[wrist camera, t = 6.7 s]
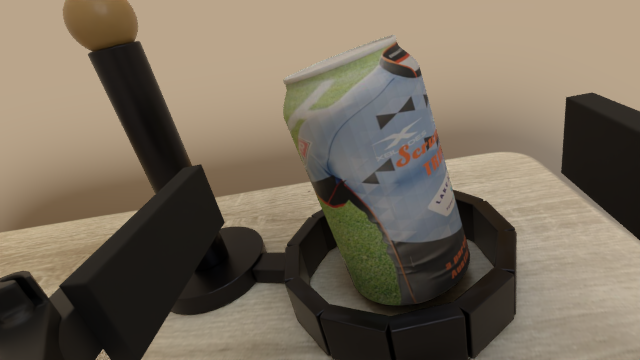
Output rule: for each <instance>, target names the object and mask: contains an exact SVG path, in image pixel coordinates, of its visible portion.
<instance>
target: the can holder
mask: <svg viewBox="0 0 640 360" xmlns="http://www.w3.org/2000/svg"><path fill="white" fill-rule="evenodd" d="M63 18H64V22H65V24H66V27H67V29H68V31H69V33H70V34H71V35H72V36H73V38H74V39H75V40H76V41H77V42H78V43H80V44H81V45H82V46H84V47H85V48H87V49H89V50H91V51H93V52H90V53H89V54H88V56H89V58H90V60H91V62H92V64H93V66H94V68H95V70H96V72H97V74H98V77H99V79H100V81H101V83H102V85H103V87H104V89H105V91H106V93H107V95H108V97H109V99H110V101H111V103H112V105H113V107H114V110H115V112H116V114H117V116H118V118H119V120H120V122H121V124H122V126H123V128H124V130H125V132H126V134H127V136H128V138H129V140H130V142H131V145H132V147H133V149H134V151H135V153H136V155H137V157H138V159H139V161H140V163H141V165H142V167H143V169H144V171H145V173H146V175H147V177H148V180H149V182H150V184H151V186H152V188H153V190H154V192H155V194H157V193H158V192H159V191H160V190H161V189H162V188H163V187H164V186H165V185H166V184H167V183H168V182H169V181H170V180H171V179H172V178H173V177H174V176H176V175H177V174H178V173H179V172H180V171H181V170H182V169H183V168H185V167H190V166H192V165H191V162H190V160H189V157H188V155H187V152H186V150H185V148H184V145H183V143H182V141H181V138H180V136H179V133H178V131H177V129H176V126H175V124H174V122H173V119H172V117H171V114H170V112H169V110H168V107H167V105H166V103H165V100H164V98H163V95H162V93H161V91H160V89H159V86H158V83H157V81H156V79H155V76H154V74H153V72H152V69H151V67H150V64H149V62H148V60H147V57H146V55H145V52H144V50H143V48H142V45H141V43H140V42H139V41H136V42H134V40H135V38H136V36H137V32H138V22H137V17H136V15H135V12H134V10H133V8H132V7H131V5H130V4H129V2H128V1H127V0H66V1H65V3H64V7H63ZM453 193H454V197H455V201H456V204H457V208H458V212H459V215H460V219H461V223H462V227H463V230H464V234H465V238H468V239H470V240H472V241H474V242H475V243H476V244H477V245H478V246H479V248H480V249H481V250H482V251H483V253H484V254H485V255H486V256H487V258H488V259H489V260H490V261H491V263H492V264H493V265H494V268H493V269H492V270H491V271H490V272H488V273H487V274H486V275H485V276H484V277H483V278H481V279H480V280H479V281H478V282H477V283H475V284H474V285H473V286H472V287H471V288H470V289H468V290H467V291H466V292H465V293H464V294H462V295H461V296H460V297H459V298H458V299H457V300H455V301H454V302H452V303H447V304H443V305H438V306H434V307H429V308H425V309H420V310H415V311H411V312H406V313H402V314H397V315H393V316H386V315H381V314H376V313H371V312H366V311H361V310H356V309H351V308H346V307H341V306H336V305H331V304H329V303H327V302H326V301H325V300H324V299H323V298H322V297H321V296H320V295H319V294H318V293H317V292H316V291H315V290H314V289H312V288H311V287H310V277H311V276H312V274H313V273H314V271H315V270H316V268H317V267H318V265H319V264H320V262H321V261H322V259H323V258H324V256H325V255H326V253H327V252H328V251H329V250H331V249H332V248H334V247H335V246H337V243H336V241H335V238H334V236H333V233H332V231H331V229H330V226H329V224H328V221H327V219H326V217H325V214H324V212H323V210H320V211H318V212H316V213H315V214H313V215H312V217H309V218H308V219H307V220H306V222H305V223H304V224H303V225H302V227H301V228H300V229H299V230H298V231H297V233H296V234H295V235H294V236H293V238H292V239H291V240H290V241H289V242H288V244H287V247H286V248H285V253H267V251H266V248H265V245H264V243H263V240H262V238H261V236H260V235H259V233H258V232H256V231H255V230H253V229H250V228H246V227H227V228H222V229H220V231H219V232H218V234H217V236H216V237H215V239H214V241H213V242H212V244H211V246H210V247H209V249H208V250H207V252H206V254H205V255H204V257H203V259H202V260H201V262H200V264H199V265H198V267H197V268H196V270H195V272H194V273H193V275H192V277H191V278H190V280H189V282H188V283H187V285H186V286H185V288H184V290H183V291H182V293H181V295H180V296H179V298H178V300H177V301H176V303H175V304H174V306H173V308H172V309H171V311H172V312H175V313H178V314H187V315H190V314H199V313H204V312H208V311H212V310H214V309H217V308H220V307H222V306H224V305H226V304H228V303H230V302H232V301H234V300H235V299H237V298H238V297H240V296H241V295H243V294H244V293H245V292H247V291H248V290H249V289H250V288H251V287H252V286H253V285H254V284H255V283H256V282H272V283H285V285H286V288H287V291H288V294H289V297H290V300H291V302H292V305H293V308H294V311H295V314H296V317H297V319H298V321H299V323H300V324H301V325H302V326H303V327H304V328H305V329H306V331H307V332H308V333H309V334H310V335H311V336H312V337H313V339H314V340H315V341H316V342H317V343H318V344H319V345H320V347H321V348H322V349H323V350H324V351H325V352H326V353H327V355H332V358H333V359H337V360H468V355H469V356H470V357H471V358H474V357H475V356H476V355H477V354H478V353H479V352H480V351H481V350H483V349H484V348H485V347H486V346H487V345H488V344H489V343H490V342H491V341H492V340H493V339H494V338H495V337H496V336H497V335H498V334H499V333H500V332H501V331H502V330H503V329H504V328H505V327H506V326H507V325H508V324H509V323H510V322H511V321H512V320H513V319H514V315H515V314H516V244H517V233H516V231H515V228H514V227H513V226H512V225H511V224H510V223H509V222H508V221H507V220H506V219H505V218H504V217H503V216H502V215H501V214H499V213H498V212H497V211H496V210H495V209H494V208H493V207H492V206H491V205H490V204H489V203H488V202H487V201H483V199H481V198H478V197H475V196H472V195H468V194H465V193H462V192H459V191H456V190H453Z"/></svg>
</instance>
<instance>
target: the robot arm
mask: <svg viewBox="0 0 640 360" xmlns="http://www.w3.org/2000/svg"><path fill="white" fill-rule="evenodd" d="M565 110H566V111H565V124H564V140H563V155H562V170H561V173H562V174H564V175H565V176H566V177H567V178H568V179H569V180H571V181H572V182H573V183H574V184H575V185H576V186H577V187H579V188H580V189H581V190H582V191H583V192H584V193H586V194H587V195H588V196H589V197H590V198H591V199H593V200H594V201H595V202H596V203H597V204H598V205H600V206H601V207H602V208H603V209H604V210H605V211H606V212H608V213H609V214H610V215H611V216H612V217H613V218H615V219H616V220H617V221H618V222H619V223H620V224H622V225H623V226H624V227H625V228H626V229H627V230H628V231H630V232H631V233H632V234H633V235H634V236H635V237H637V238H638V239H639V240H640V111H637V110H635V109H632V108H630V107H627V106H625V105H622V104H620V103H617V102H615V101H612V100H610V99H607V98H605V97H602V96H600V95H597V94H595V93H588V94H582V95H577V96H571V97H567V98H566V109H565ZM224 223H225V222H224V219H223V217H222V215H221V212H220V210H219V207H218V205H217V202H216V200H215V197H214V195H213V193H212V190H211V188H210V185H209V183H208V180H207V178H206V175H205V173H204V170H203V168H202V166H201V165H197V166H190V167H185V168H183V169H182V170H181V171H180V172H179V173H178V174H177V175H176V176H174V177H173V178H172V179H171V180H170V181H169V182H168V183H167V184H166V185H165V186H164V187H163V188H162V189H161V190H160V191H159V192H158V193H157V194H156V195H154V196H153V197H152V198H151V199H150V200H149V201H148V202H147V203H146V204H145V205H144V206H143V207H142V208H141V209H140V210H139V211H138V212H137V213H136V214H134V215H133V216H132V217H131V218H130V219H129V220H128V221H127V222H126V223H125V224H124V225H123V226H122V227H121V228H120V229H119V230H118V231H117V232H116V233H115V234H113V235H112V236H111V237H110V238H109V239H108V240H107V241H106V242H105V243H104V244H103V245H102V246H101V247H100V248H99V249H98V250H97V251H96V252H95V253H93V254H92V255H91V256H90V257H89V258H88V259H87V260H86V261H85V262H84V263H83V264H82V265H81V266H80V267H79V268H78V269H77V270H76V271H75V272H73V273H72V274H71V275H70V276H69V277H68V278H67V279H66V280H65V281H64V282H63V283H62V284H61V285H60V286H59V287H60V288H59V289H58V290H57V291H55V292H54V293H53V294H52V295H51V296H50V297H49V298H48V297H47V295H46V294H45V293H44V291H43V290H42V289H41V287H40V286H39V284H38V283H37V282H36V280H35V279H34V278H33V276H32V275H31V274H30V272H27V271H20V272H16V273H12V274H10V275H7V276H4V277H2V278H0V360H95V359H96V358H97V356H98V355H99V354H100V352H101V351H102V350H103V349H104V351H105V352H106V354H107V355H108V356H109V358H110V359H111V360H141V359H142V357H143V355H144V354H145V352H146V350H147V349H148V347H149V345H150V344H151V342H152V341H153V339H154V337H155V336H156V334H157V332H158V331H159V329H160V327H161V326H162V324H163V323H164V321H165V319H166V318H167V316H168V314H169V313H170V311H171V309H172V308H173V306H174V304H175V303H176V301H177V300H178V298H179V296H180V295H181V293H182V291H183V290H184V288H185V286H186V285H187V283H188V282H189V280H190V278H191V277H192V275H193V273H194V272H195V270H196V268H197V267H198V265H199V264H200V262H201V260H202V259H203V257H204V255H205V254H206V252H207V250H208V249H209V247H210V246H211V244H212V242H213V241H214V239H215V237H216V236H217V234H218V232H219V231H220V229H221V228H222V226H223V224H224Z"/></svg>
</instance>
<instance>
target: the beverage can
mask: <svg viewBox="0 0 640 360" xmlns="http://www.w3.org/2000/svg"><path fill="white" fill-rule="evenodd" d="M283 81H284V84H286V88H287V92H286V97H285V102H284V119H285V121H286V123H287V126H288V128H289V131H290V133H291V136H292V138H293V140H294V143H295V145H296V148H297V150H298V152H299V155H300V157H301V159H302V162H303V164H304V166H305V169H306V171H307V174H308V176H309V179H310V181H311V183H312V186H313V188H314V190H315V193H316V195H317V198H318V200H319V202H320V205H321V207H322V210H323V212H324V214H325V217H326V219H327V221H328V224H329V226H330V229H331V231H332V233H333V236H334V238H335V241H336V243H337V245H338V248H339V250H340V252H341V255H342V257H343V260H344V262H345V264H346V267H347V269H348V271H349V274H350V276H351V279H352V281H353V283H354V286H355V287H356V289H357V290H358V291H359V292H360V293H361V294H362V295H363V296H364V297H366V298H368V299H370V300H371V301H374V302H377V303H380V304H386V305H411V304H418V303H422V302H425V301H428V300H431V299H433V298H435V297H437V296H439V295H441V294H443V293H444V292H446V291H448V290H449V289H450V288H452V287H453V286H454V285H455V284H456V283H457V282H458V281H459V280H460V279H461V278H462V277H463V275H464V274H465V272H466V270H467V268H468V265H469V261H470V253H469V249H468V245H467V241H466V238H465V234H464V230H463V227H462V223H461V219H460V215H459V212H458V208H457V204H456V201H455V197H454V193H453V189H452V186H451V182H450V178H449V175H448V171H447V167H446V164H445V160H444V156H443V152H442V149H441V145H440V141H439V138H438V134H437V130H436V127H435V123H434V119H433V116H432V112H431V108H430V104H429V100H428V97H427V93H426V89H425V86H424V82H423V78H422V75H421V71H420V67H419V65H418V63H417V61H416V60H415V59H414V58H413V57H412V56H411V55H409V54H408V53H407V52H405V51H404V50H403V49H402V48H400V47H399V46H398V44H397V42H396V36H395V35H391V36H388V37H384V38H381V39H379V40H375V41H372V42H370V43H367V44H364V45H362V46H359V47H356V48H354V49H351V50H348V51H346V52H343V53H341V54H338V55H336V56H333V57H331V58H328V59H326V60H323V61H321V62H319V63H316V64H314V65H312V66H309V67H308V68H305V69H302V70H300V71H298V72H296V73H294V74H292V75H290V76H288V77H286V78H285V79H284V80H283Z"/></svg>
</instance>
